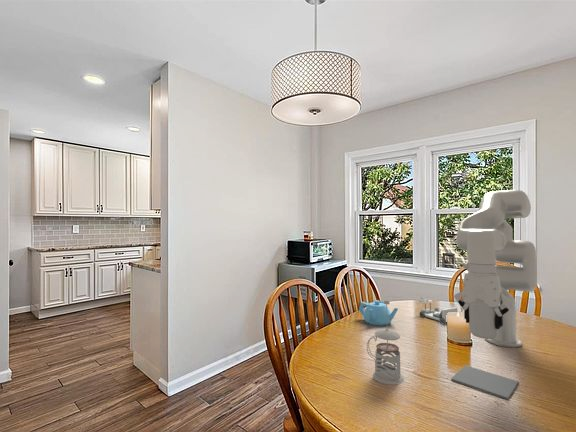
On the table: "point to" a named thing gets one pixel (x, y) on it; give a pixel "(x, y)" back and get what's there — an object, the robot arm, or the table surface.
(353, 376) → the table surface
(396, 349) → the french press
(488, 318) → the can
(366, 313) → the teapot
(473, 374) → the mat
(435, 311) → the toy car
